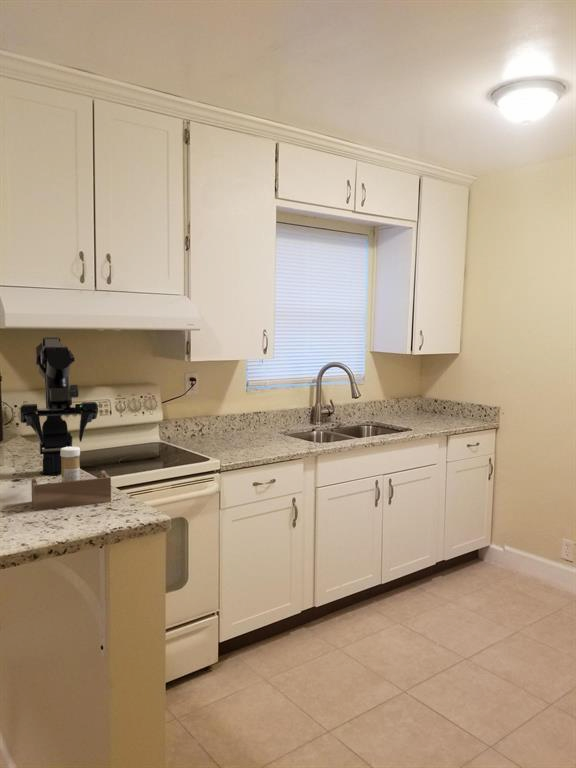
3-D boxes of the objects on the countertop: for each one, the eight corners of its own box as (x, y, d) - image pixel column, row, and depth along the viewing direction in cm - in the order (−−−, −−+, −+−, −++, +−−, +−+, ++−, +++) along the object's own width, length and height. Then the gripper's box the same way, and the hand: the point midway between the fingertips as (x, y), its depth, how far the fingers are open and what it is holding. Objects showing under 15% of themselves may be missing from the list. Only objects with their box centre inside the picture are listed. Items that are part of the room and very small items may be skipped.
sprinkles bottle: (64, 498, 151) (63, 446, 150) (82, 498, 151) (81, 445, 150) (59, 503, 146) (58, 449, 145) (78, 503, 147) (77, 449, 146)
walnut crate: (31, 501, 148) (31, 477, 147) (104, 493, 156) (104, 470, 155) (34, 510, 141) (34, 485, 140) (111, 501, 149) (110, 477, 148)
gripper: (19, 374, 148) (21, 431, 141) (97, 372, 156) (103, 427, 149) (19, 394, 157) (21, 449, 150) (93, 392, 165) (98, 444, 158)
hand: (61, 442), depth 152 cm, fingers open, 9 cm apart
